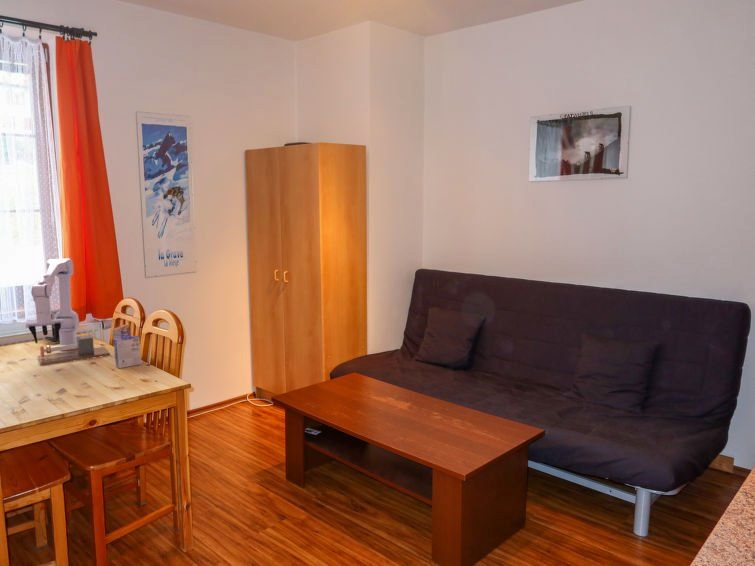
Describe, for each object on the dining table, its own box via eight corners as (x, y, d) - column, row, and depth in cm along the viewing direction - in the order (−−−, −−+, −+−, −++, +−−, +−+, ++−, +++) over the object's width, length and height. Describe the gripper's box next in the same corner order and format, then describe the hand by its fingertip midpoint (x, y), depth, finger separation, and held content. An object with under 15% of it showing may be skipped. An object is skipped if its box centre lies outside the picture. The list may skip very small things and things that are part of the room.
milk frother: (70, 335, 318) (68, 308, 315) (78, 340, 306) (76, 312, 303) (40, 339, 309) (37, 311, 306) (47, 345, 297) (44, 316, 294)
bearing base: (40, 365, 262) (38, 346, 260) (38, 358, 273) (36, 340, 272) (109, 355, 277) (108, 337, 276) (104, 349, 289) (102, 331, 287)
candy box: (124, 357, 274) (121, 324, 272) (133, 357, 274) (130, 324, 271) (114, 362, 265) (111, 329, 263) (123, 362, 265) (121, 329, 262)
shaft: (41, 357, 266) (40, 346, 265) (40, 354, 270) (39, 344, 269) (88, 350, 276) (87, 340, 275) (87, 348, 280) (86, 338, 279)
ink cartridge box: (138, 361, 266) (135, 330, 264) (142, 364, 262) (139, 332, 260) (114, 366, 260) (112, 333, 258) (118, 368, 256) (116, 335, 254)
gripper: (25, 314, 255) (28, 345, 257) (63, 310, 263) (65, 340, 265) (23, 312, 261) (26, 342, 263) (60, 308, 269) (63, 337, 271)
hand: (46, 341), depth 265 cm, fingers open, 7 cm apart
